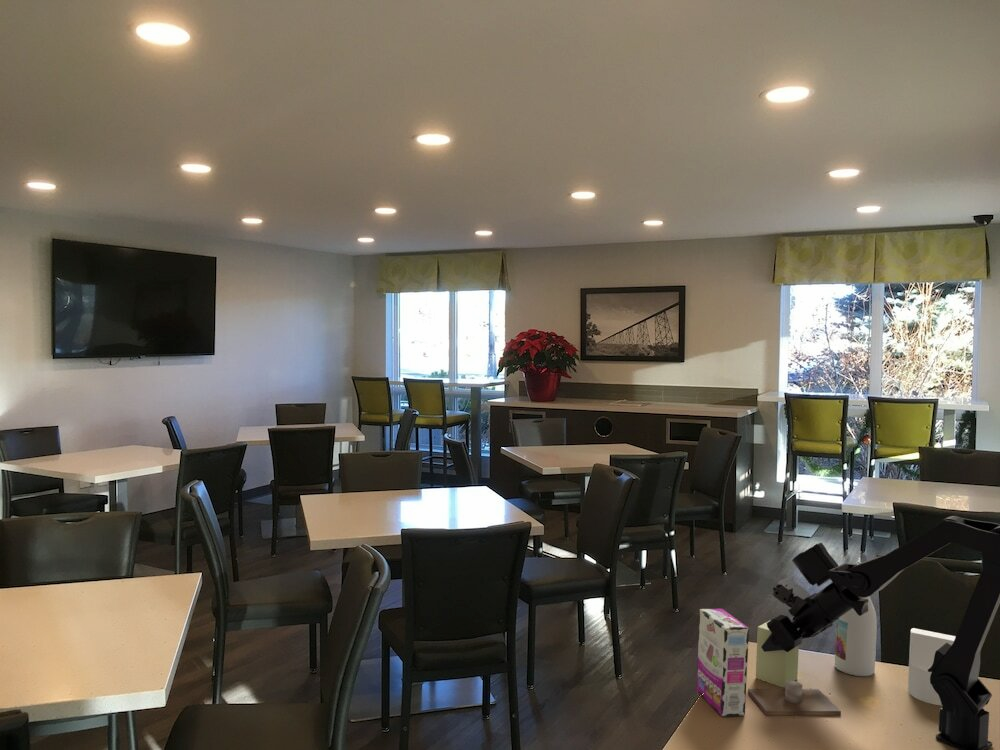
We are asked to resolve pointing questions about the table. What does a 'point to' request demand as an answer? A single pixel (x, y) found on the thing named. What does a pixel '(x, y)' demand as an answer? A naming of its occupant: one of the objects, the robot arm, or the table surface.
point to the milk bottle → (856, 642)
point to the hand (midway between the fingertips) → (771, 644)
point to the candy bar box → (722, 661)
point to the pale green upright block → (775, 661)
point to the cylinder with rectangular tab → (924, 663)
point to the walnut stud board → (787, 708)
